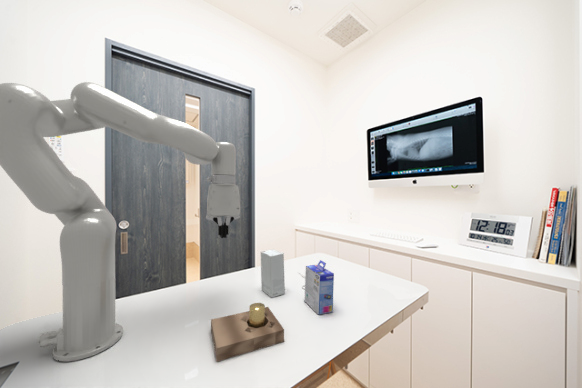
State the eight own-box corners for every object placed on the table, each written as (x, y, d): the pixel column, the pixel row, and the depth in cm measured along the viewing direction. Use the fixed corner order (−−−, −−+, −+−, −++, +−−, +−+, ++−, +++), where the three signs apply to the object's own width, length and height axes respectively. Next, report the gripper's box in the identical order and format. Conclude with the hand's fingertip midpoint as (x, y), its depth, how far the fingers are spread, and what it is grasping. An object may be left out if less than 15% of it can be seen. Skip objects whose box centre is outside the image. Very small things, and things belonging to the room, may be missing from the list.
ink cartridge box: (334, 312, 70) (335, 265, 69) (318, 316, 67) (319, 268, 67) (318, 298, 79) (318, 257, 78) (304, 301, 76) (304, 258, 76)
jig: (216, 361, 49) (216, 348, 49) (210, 330, 60) (211, 319, 60) (284, 341, 56) (284, 329, 56) (267, 316, 67) (268, 306, 67)
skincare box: (285, 294, 81) (285, 253, 81) (270, 298, 78) (270, 255, 78) (273, 286, 88) (274, 248, 88) (259, 289, 85) (260, 250, 85)
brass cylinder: (251, 339, 56) (251, 312, 56) (247, 330, 60) (247, 304, 60) (266, 335, 58) (266, 308, 58) (261, 326, 62) (262, 301, 62)
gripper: (199, 180, 66) (199, 241, 67) (249, 181, 73) (248, 237, 73) (198, 180, 73) (197, 236, 74) (243, 182, 80) (243, 233, 80)
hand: (223, 237), depth 73 cm, fingers closed
